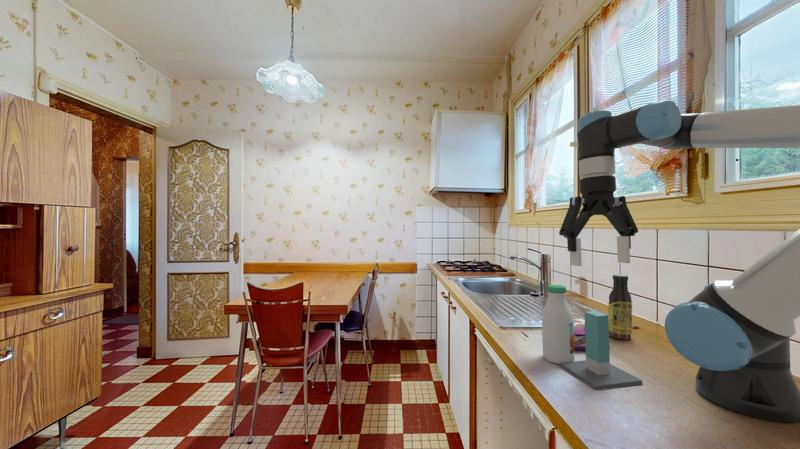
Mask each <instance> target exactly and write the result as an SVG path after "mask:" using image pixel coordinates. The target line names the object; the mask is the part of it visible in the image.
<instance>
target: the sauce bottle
mask: <svg viewBox="0 0 800 449" xmlns="http://www.w3.org/2000/svg"><path fill="white" fill-rule="evenodd" d="M612 280H613V283H612V284H613V286H612V291H610V293H609V296H608V310H607V311H608V314H607V315H608V322H609V337H612V338H614V339H618V340H630V339H631V338H632V334H633V330H632V329H633V327H632V326H633V302H632V295H631V293H630V291H629V290H628V289H629V288H628V282H629V276H628V275H626V274H617V273H616V274H615V273H614V274H612Z"/></svg>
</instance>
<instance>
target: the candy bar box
mask: <svg viewBox="0 0 800 449" xmlns="http://www.w3.org/2000/svg"><path fill="white" fill-rule="evenodd" d="M573 325H574V351H585V352H586V345H585V318H583V317H579V318H578V317H573ZM610 351H611V350H610V346H609V352H610Z"/></svg>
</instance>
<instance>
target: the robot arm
mask: <svg viewBox="0 0 800 449" xmlns="http://www.w3.org/2000/svg"><path fill="white" fill-rule="evenodd" d="M576 138H577V148H578V177H580V178H581V179H580V180H579V181H578V182H579V184H578V185H579V193H580V194H581V196H580V195H579V196H571V197H570V198H569V206H568V208H567V211H566V215H565V217H564V219H563V222H562V224H561V227H560V229H559V233H558V234H559V236H562V237H563V238H565V239H567V240H566V242H567V252H569V259H570V261H569V262H570V266H574V267H575V266H576V267H582V265H583V264H582V243H581V241H582V240H581V238H579V237H578V236H579V235H580V234H581V232H582V231H583V229H584V228H585V226H586V225H587V223H588V222H589V220H590V218H591V217H593V216H603V217H605V218H606V219H607V220H608V222H610V224H611V225H612V226H613V228H614V229H615V231H616V232H617V234H618V235H617V236H616V249H617V263H623V264H631V257H630V256H631V253H630V251H631V248H632V245H631V244H632V242H631V237H634V236H636V234H638V232H639V229H638V227H637V225H636V221H635V220H634V218H633V216H632V214H631V212H630V210H629V208H628V207H629V206H628V205H627V199H626V196H625V195H622V196H621V195H620V196H614V193H615V192H616V191H617V183H616V182H617V181H616V180H617V179H616V177H615V176H614V175H615V174H616V157H615V155H616V154H615V152H616V149H621V148H625V147H628V146H629V147H630V146H634V145H639V144H640V145H645V146H652V147H657V148H662V149H664V150H670V151H671V150H673V151H676V150H678V151H679V150H684V149H800V104H799V105H798V104H797V105H787V106H786V105H785V106H771V107H760V108H759V107H758V108H746V109H737V110H736V109H735V110H734V109H732V110H722V111H721V110H720V111H711V112H710V111H708V112H700V113H699V112H698V113H695V112H694V113H684V114H683V113H682V114H681V109H680V107H679V106H678V105H677V104H676V102H675V101H673V100H670V99H664V100H660V101H656V102H651V103H647V104H645V105H643V106H641V107H637V108H634V109H631V110H628V111H623V112H622V113H618V114H615V115H614V113H613V111H611V110H609V109H600V110H599V109H598V110H595V111H590V112H589V111H588V112H587V113H585V114H583V115H581V116H580V117H579V118H578V120H577V133H576ZM799 317H800V228H798V229H797V230H795V231H794V232H793V233H792V234H791V235H790V236H788V237H787V238H786V239H784V240H783V241H782V242H781V243H779V244H778V245H777V246H775V247H773V248H772V249H770V251H768V253H766V254H765V255H764V256H762V257H761V258H760V259H758V260H757V261H755V262H754V263H753V264H752V265H751V266H749V267H748V268H747V269H745V270H744V271H743V272H742V273H740V274H739V275H738V276H737V277H735V278H734V279H716V280H715V281H713V282H712V283H709V284H706V285H704V287H703V290H701V291H700V292H699V293H698V294H697V295H695V296H694V297H692V298H691V299H690V300H689V301H687V302H682V303H680V304H677V305H675V306H674V307H673V308H672V309H671V310H670V311H669V312H668V313H667V315H666V316H665V320H664V329H665V335H666V337H667V339H668V341H669V343H670V345H672V347H673V349H675V351H676V352H677V354H678V353H679V355H680V356H681V357H683V358H685V359H686V360H687V361H689V362H691V363H692V364H694V365H695V366H698V367H699V369H698V371H697V373H696V375H695V389H696V391H697V392H698V393H699V394H700V395H701V396H702V397H704V398H705V399H707V401H708V400H709V401H711V402H712V403H714V404H716V405H718V406H720V407H722V408H726V409H727V410H731V411H734V412H737V413H739V414H742V415H747V416H749V417H753V418H757V419H762V420H766V421H771V422H780V423H800V388H799V386H798V384H797V382H796V380H795V377H794V376H793V374H792V371H791V370H792V369H791V343H790V342H791V341H790V338H792V337H793V336H794V335H796V334H797V330H796V327H795V320H797V319H798V318H799Z"/></svg>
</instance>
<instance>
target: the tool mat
mask: <svg viewBox="0 0 800 449" xmlns="http://www.w3.org/2000/svg"><path fill="white" fill-rule="evenodd" d="M559 367H560V368H562V370H565V371H567V372H568V373H569V374H571V375H572V376H573V377H575V378H577V379H579V380H581V381H582V382H583V383H584V384H587V386H589V385H590V387H591V388H593V389H594V388H595V389H594V390H596V389H599V390H604V389H603V388H606V389H613V387H614V388H621V387H627V386H629V387H630V386H634V385H635V386H636V385H637V386H638V385H642V384H643V380H642V379H640V378H639V377H637V376H635V375H633V374H631V373H628V372H627V371H625V370H624V369H621V368H619V367H617V366H616V365H613V364H611V363H610V374H608V375H600V376H599V375H597V374H595V373H594V372H592V371H590V370H589V369H587V368H586V359H585V360H577V361H575V360H574V362H566V363H560V364H559Z"/></svg>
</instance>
